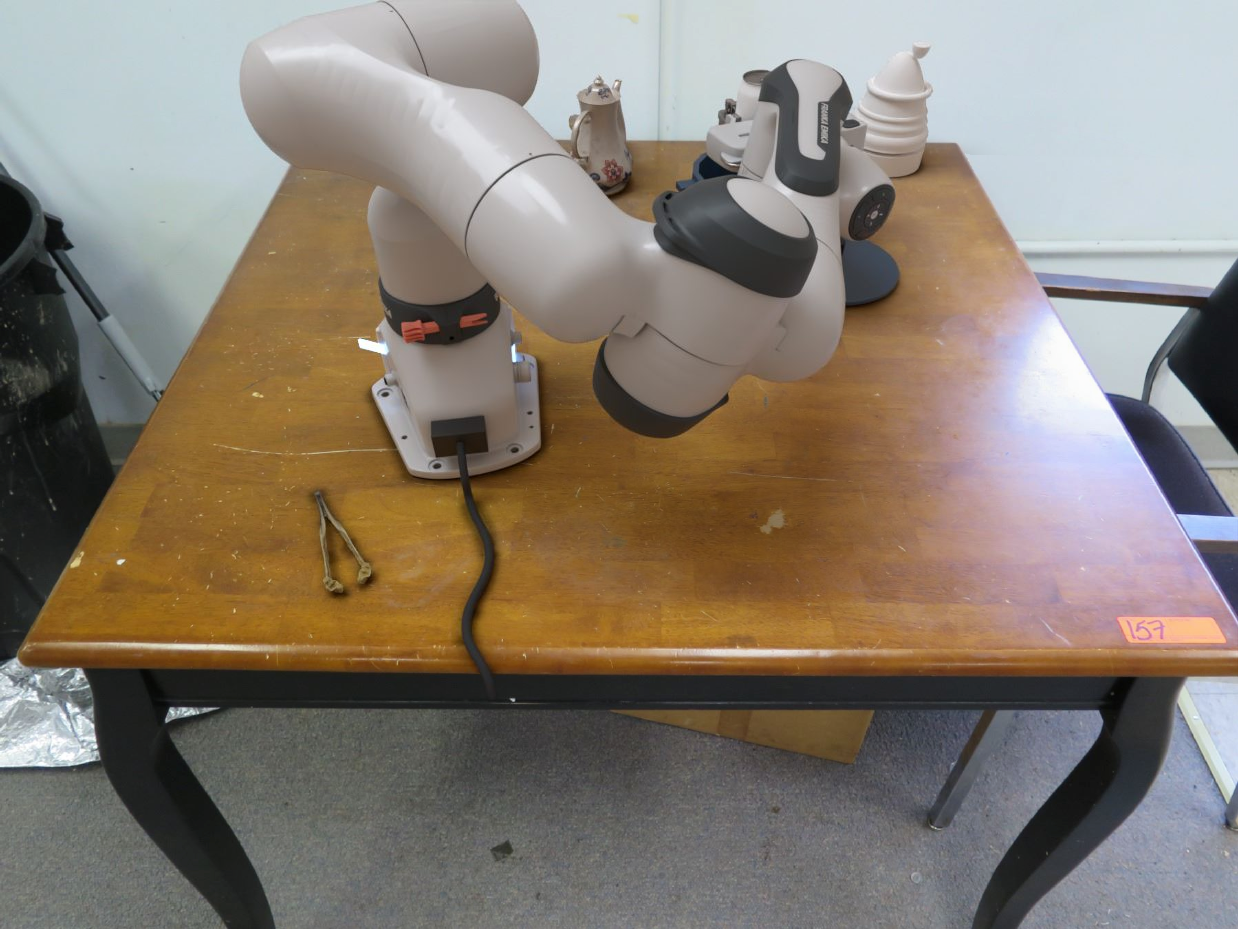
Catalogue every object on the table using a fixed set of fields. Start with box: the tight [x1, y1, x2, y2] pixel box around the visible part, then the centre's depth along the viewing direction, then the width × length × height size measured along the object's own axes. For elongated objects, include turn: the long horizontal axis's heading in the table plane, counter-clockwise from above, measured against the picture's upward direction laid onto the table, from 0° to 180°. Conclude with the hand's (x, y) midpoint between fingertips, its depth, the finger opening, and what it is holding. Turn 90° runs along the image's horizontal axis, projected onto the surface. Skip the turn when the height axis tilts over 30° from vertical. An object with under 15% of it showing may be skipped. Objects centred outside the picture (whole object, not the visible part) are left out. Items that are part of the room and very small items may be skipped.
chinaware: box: [568, 74, 634, 197], centre depth 119 cm, size 28×17×17 cm, turn 154°
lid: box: [840, 237, 900, 306], centre depth 105 cm, size 18×18×5 cm
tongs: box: [314, 490, 372, 594], centre depth 73 cm, size 4×13×2 cm, turn 33°
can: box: [735, 69, 772, 122], centre depth 109 cm, size 6×6×12 cm
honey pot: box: [852, 41, 934, 178], centre depth 124 cm, size 13×13×18 cm
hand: (755, 115), depth 109 cm, fingers closed on can, 6 cm apart
